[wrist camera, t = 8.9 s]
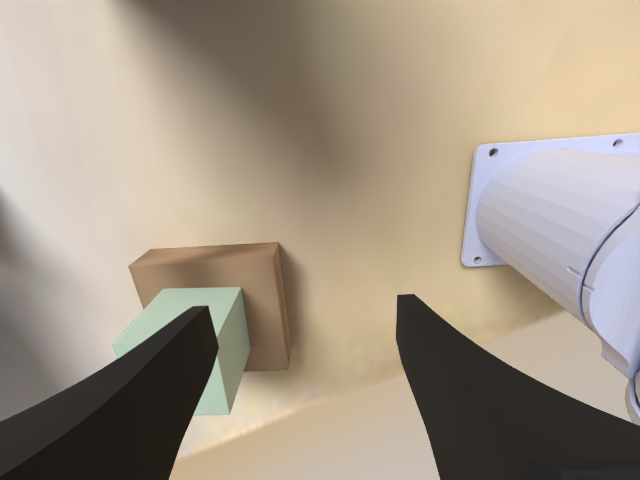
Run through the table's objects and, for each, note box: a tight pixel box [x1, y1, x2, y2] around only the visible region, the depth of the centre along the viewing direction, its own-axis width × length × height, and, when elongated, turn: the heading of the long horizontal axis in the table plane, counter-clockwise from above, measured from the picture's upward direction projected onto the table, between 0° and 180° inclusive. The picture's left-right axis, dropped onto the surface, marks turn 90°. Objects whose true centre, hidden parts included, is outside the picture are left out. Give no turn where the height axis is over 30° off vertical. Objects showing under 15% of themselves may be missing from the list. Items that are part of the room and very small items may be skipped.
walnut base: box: [128, 242, 292, 371], centre depth 21 cm, size 9×9×3 cm
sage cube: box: [112, 287, 251, 415], centre depth 17 cm, size 5×5×5 cm
